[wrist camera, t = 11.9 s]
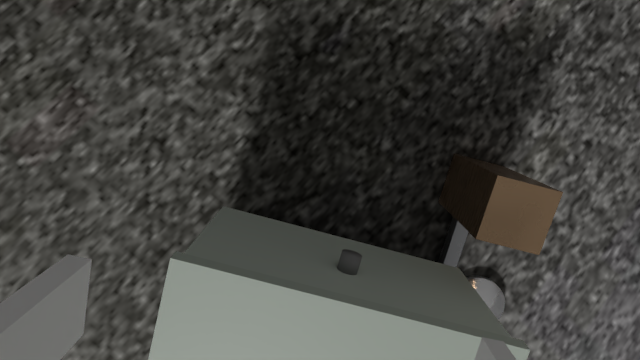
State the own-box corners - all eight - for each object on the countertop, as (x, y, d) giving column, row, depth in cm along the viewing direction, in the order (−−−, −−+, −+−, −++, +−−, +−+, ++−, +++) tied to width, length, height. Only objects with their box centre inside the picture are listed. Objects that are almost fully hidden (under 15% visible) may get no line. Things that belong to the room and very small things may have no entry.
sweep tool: (454, 153, 39) (497, 175, 29) (503, 166, 39) (562, 192, 30) (403, 309, 42) (427, 376, 32) (449, 320, 42) (487, 390, 33)
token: (460, 265, 42) (464, 271, 40) (509, 285, 42) (514, 290, 41) (437, 312, 43) (440, 318, 41) (485, 330, 43) (489, 337, 42)
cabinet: (232, 181, 40) (173, 242, 24) (454, 240, 41) (536, 336, 25) (191, 353, 43) (116, 504, 28) (396, 404, 44) (437, 578, 28)
